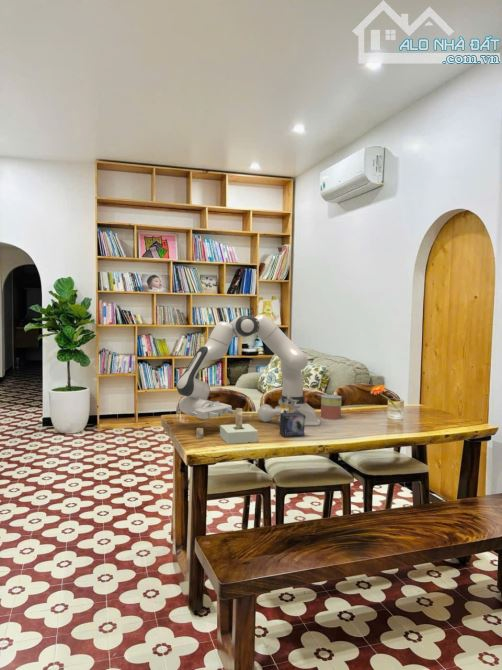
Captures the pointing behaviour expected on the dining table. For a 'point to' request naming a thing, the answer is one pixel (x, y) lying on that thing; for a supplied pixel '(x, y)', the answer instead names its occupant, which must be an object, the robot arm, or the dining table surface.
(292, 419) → the small box
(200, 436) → the short pin
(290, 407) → the flower vase
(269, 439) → the dining table surface
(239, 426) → the tall pin
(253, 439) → the grey flat block
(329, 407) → the canned food
